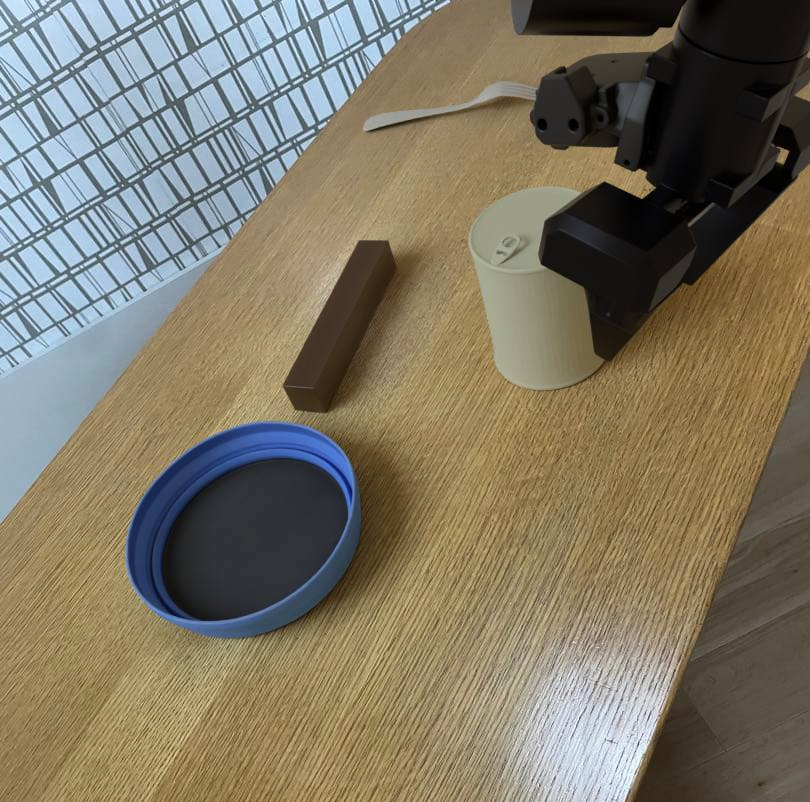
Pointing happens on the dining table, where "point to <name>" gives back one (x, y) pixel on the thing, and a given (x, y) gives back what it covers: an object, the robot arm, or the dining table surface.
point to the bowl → (245, 530)
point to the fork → (488, 93)
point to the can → (531, 294)
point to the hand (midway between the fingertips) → (645, 317)
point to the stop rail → (340, 327)
